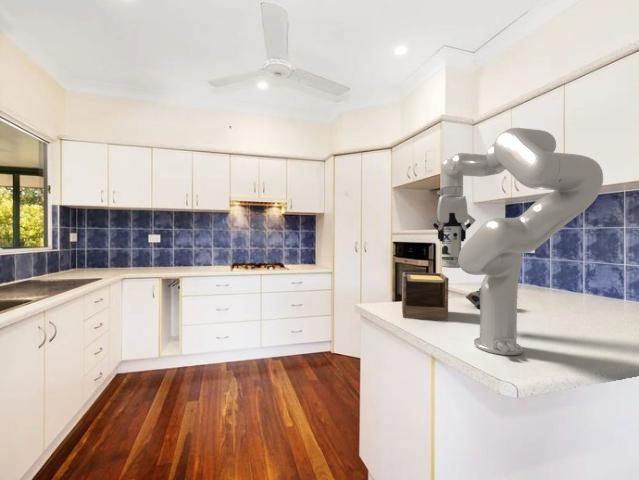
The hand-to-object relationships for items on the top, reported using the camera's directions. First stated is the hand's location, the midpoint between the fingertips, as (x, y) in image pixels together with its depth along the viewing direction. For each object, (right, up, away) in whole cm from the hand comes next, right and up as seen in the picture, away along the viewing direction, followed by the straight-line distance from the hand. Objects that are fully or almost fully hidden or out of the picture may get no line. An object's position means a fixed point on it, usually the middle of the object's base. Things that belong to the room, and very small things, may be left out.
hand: (451, 240), depth 111 cm
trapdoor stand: (-4, -32, +18) cm, 37 cm away
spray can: (0, -10, 0) cm, 10 cm away
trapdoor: (-4, -16, +18) cm, 24 cm away
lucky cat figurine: (+31, -32, +32) cm, 55 cm away
